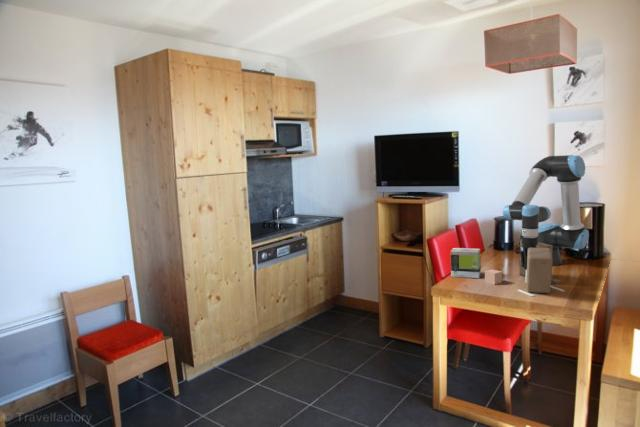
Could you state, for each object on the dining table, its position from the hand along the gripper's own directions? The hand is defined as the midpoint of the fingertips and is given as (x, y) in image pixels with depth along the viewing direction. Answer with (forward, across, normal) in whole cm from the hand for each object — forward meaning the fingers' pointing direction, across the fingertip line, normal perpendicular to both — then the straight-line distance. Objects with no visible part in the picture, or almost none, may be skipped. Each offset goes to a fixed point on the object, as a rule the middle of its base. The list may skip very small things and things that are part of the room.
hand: (528, 282), depth 225 cm
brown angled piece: (+2, -8, +14) cm, 16 cm away
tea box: (+3, -30, -16) cm, 34 cm away
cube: (+2, -13, -11) cm, 17 cm away
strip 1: (+2, +8, -9) cm, 12 cm away
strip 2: (+2, +8, +9) cm, 12 cm away
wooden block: (+1, +7, -1) cm, 7 cm away
